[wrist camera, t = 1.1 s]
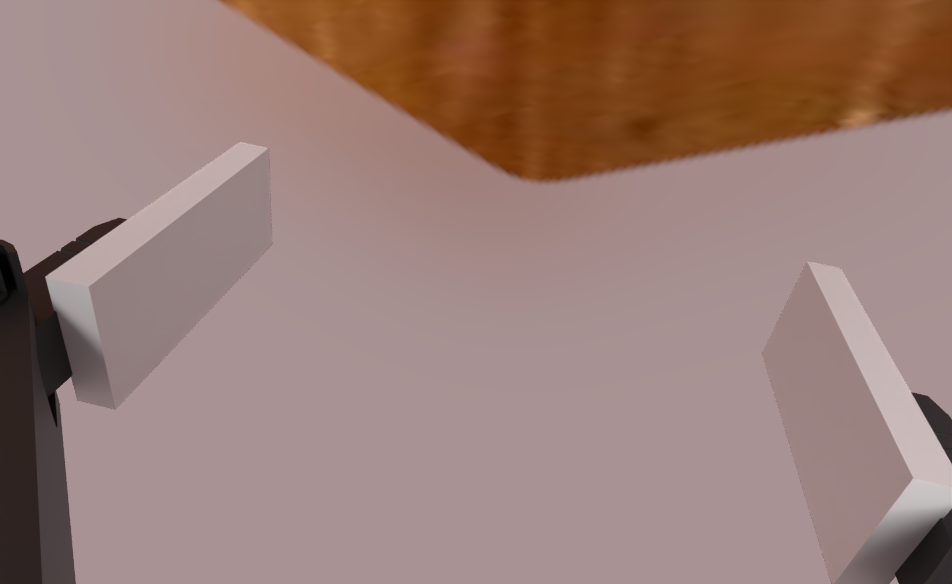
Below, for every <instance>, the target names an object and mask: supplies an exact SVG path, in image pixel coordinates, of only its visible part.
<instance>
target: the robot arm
mask: <svg viewBox="0 0 952 584" xmlns="http://www.w3.org/2000/svg"><path fill="white" fill-rule="evenodd" d="M269 164H270V163H269V148H266V147H261V146H257V145H252V144H247V143H242V142H239V143H237V144H236V145H234V146H233V147H232V148H230V149H229V150H227V151H226V152H224V153H223V154H221V155H220V156H219V157H217V158H216V159H214V160H213V161H212V162H210V163H208V164H207V165H206V166H204V167H203V168H201V169H200V170H199V171H197V172H196V173H194V174H193V175H191V176H190V177H188V178H187V179H185V180H184V181H182V182H181V183H180V184H178V185H177V186H175V187H174V188H173V189H171V190H170V191H168V192H167V193H165V194H164V195H162V196H161V197H159V198H158V199H157V200H155V201H154V202H152V203H151V204H149V205H148V206H146V207H145V208H144V209H142V210H141V211H139V212H138V213H136V214H135V215H133V216H132V217H131V218H129V219H128V220H127V219H122V218H117V219H115V220H111V221H109V222H106V223H103V224H100V225H97V226H94V227H93V228H91V229H90V230H88V231H87V232H85V233H84V234H82V235H81V236H79V237H78V238H76V241H71V242H70V243H68V244H67V245H66V246H64V247H62V248H61V251H56V252H55V253H53V254H52V255H50V256H49V257H47V258H46V259H45V260H43V261H41V262H40V263H39V264H37V265H35V266H34V267H32V268H31V269H29V270H28V271H26V272H25V273H23V272H22V268H21V265H20V261H19V257H18V254H17V251H16V249H15V248H14V246H13V245H12V244H10V243H8V242H6V241H4V240H0V584H76V582H75V572H74V560H73V549H72V537H71V526H70V517H69V503H68V492H67V481H66V470H65V459H64V448H63V436H62V426H61V414H60V403H59V400H58V396H57V393H56V390H57V389H58V388H59V387H60V386H61V385H62V384H63V383H64V382H65V381H67V380H68V379H69V378H70V377H71V378H72V381H73V386H74V389H75V393H76V397H77V400H78V401H82V402H86V403H90V404H94V405H98V406H103V407H107V408H110V409H114V410H116V409H117V408H118V407H119V406H120V404H121V403H122V402H123V401H124V400H125V399H126V398H127V397H128V396H129V395H130V394H131V393H132V392H133V391H134V390H135V389H136V388H137V387H138V386H139V384H140V383H141V382H142V381H143V380H144V379H145V378H146V377H147V376H148V375H149V374H150V373H151V372H152V371H153V370H154V368H155V367H157V366H158V364H159V363H160V362H161V361H162V360H163V359H164V358H165V357H166V356H167V355H168V354H169V353H170V352H171V351H172V350H173V349H174V347H176V346H177V344H178V343H179V342H180V341H181V340H182V339H183V338H184V337H185V336H186V335H187V334H188V333H189V332H190V331H191V330H192V329H193V327H195V325H196V324H197V323H198V322H199V321H200V320H201V319H202V318H203V317H204V316H205V315H206V314H207V313H208V312H209V310H211V309H212V308H213V306H214V305H215V304H216V303H217V302H218V301H219V300H220V299H221V298H222V297H223V296H224V295H225V294H226V293H227V292H228V291H229V290H230V289H231V288H232V286H233V285H234V284H235V283H236V282H237V281H238V280H239V279H240V278H241V277H242V276H243V275H244V274H245V273H246V272H247V270H249V269H250V267H251V266H252V265H253V264H254V263H255V262H256V261H257V260H258V259H259V258H260V257H261V256H262V255H263V254H264V253H265V252H266V250H268V249H269V247H270V246H271V245H272V224H271V193H270V165H269ZM762 355H763V358H764V362H765V365H766V368H767V372H768V375H769V378H770V382H771V385H772V388H773V391H774V395H775V398H776V402H777V405H778V408H779V412H780V414H781V418H782V421H783V424H784V428H785V432H786V435H787V438H788V441H789V445H790V448H791V452H792V455H793V458H794V461H795V465H796V468H797V471H798V475H799V478H800V482H801V485H802V488H803V491H804V495H805V498H806V501H807V505H808V508H809V511H810V515H811V518H812V521H813V524H814V528H815V531H816V534H817V538H818V541H819V545H820V548H821V551H822V555H823V558H824V561H825V565H826V568H827V571H828V575H829V578H830V581H831V584H889V583H890V582H891V581H892V580H893V579H894V577H895V576H896V578H897V580H898V583H899V584H952V419H951V418H950V416H949V415H948V414H946V413H945V412H944V411H943V410H942V409H941V408H940V407H939V406H938V405H937V404H936V403H934V401H933V400H931V399H930V398H929V397H928V396H925V395H921V394H917V393H912V392H910V390H909V388H908V386H907V385H906V383H905V381H904V379H903V377H902V376H901V374H900V372H899V370H898V369H897V367H896V365H895V363H894V362H893V360H892V358H891V356H890V354H889V353H888V351H887V349H886V347H885V346H884V344H883V342H882V341H881V339H880V337H879V335H878V333H877V332H876V330H875V328H874V326H873V325H872V323H871V321H870V319H869V318H868V316H867V314H866V312H865V311H864V309H863V307H862V305H861V304H860V302H859V300H858V298H857V296H856V295H855V293H854V291H853V289H852V288H851V286H850V284H849V282H848V280H847V279H846V277H845V276H844V273H843V272H842V270H841V268H838V267H833V266H828V265H823V264H819V263H814V262H809V261H807V262H806V264H805V266H804V268H803V270H802V272H801V274H800V277H799V278H798V280H797V283H796V284H795V286H794V289H793V291H792V293H791V295H790V297H789V299H788V301H787V303H786V305H785V307H784V309H783V311H782V313H781V315H780V317H779V320H778V321H777V323H776V325H775V327H774V329H773V332H772V334H771V336H770V338H769V340H768V342H767V344H766V346H765V348H764V350H763V352H762Z"/></svg>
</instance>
